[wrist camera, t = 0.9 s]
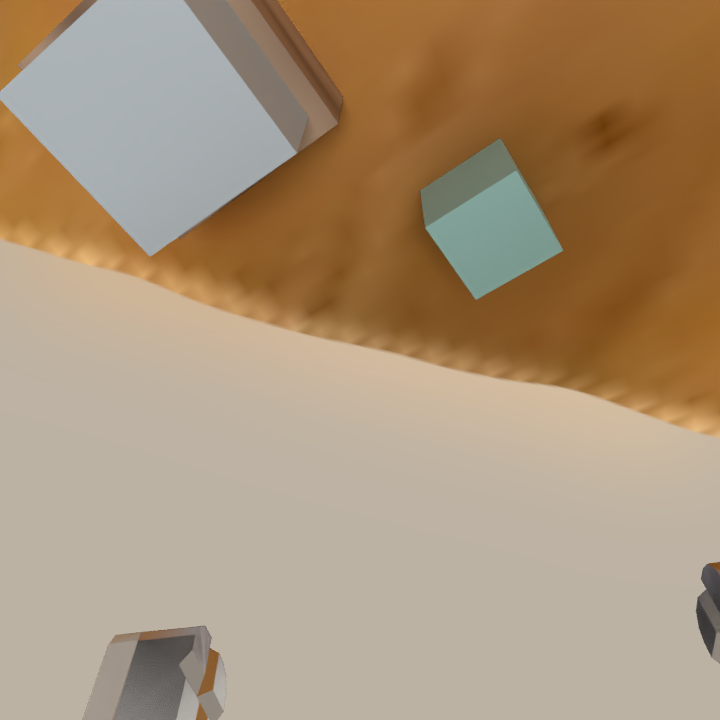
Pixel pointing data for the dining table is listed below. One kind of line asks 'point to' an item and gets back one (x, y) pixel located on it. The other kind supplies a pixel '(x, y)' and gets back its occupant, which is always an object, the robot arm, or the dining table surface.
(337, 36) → the dining table surface
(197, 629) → the robot arm
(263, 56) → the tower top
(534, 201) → the teal block
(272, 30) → the tower base
